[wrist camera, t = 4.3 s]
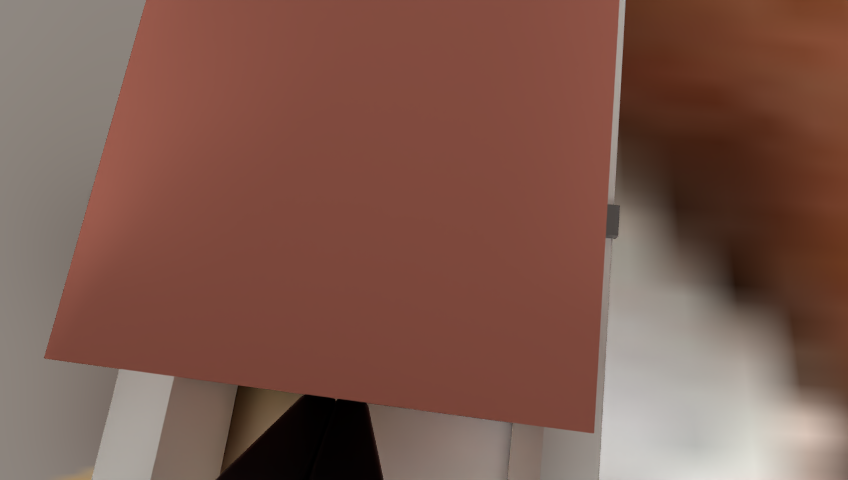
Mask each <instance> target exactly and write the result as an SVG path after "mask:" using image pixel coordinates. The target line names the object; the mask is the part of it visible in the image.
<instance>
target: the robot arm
mask: <svg viewBox="0 0 848 480" xmlns="http://www.w3.org/2000/svg"><path fill="white" fill-rule="evenodd" d="M216 480H383V475H382V470H381V465H380V460H379V456H378V451H377V446H376V441H375V437H374V432H373V427H372V422H371V417H370V413H369V408H368V405H367V403H366V402H359V401H351V400H344V399H337V401H335V399H334V398H329V397H322V396H315V395H307V394H305V395H303V396H302V397H301V398H300V399H299V400H298V401H296V402H295V403H294V404H293V405H292V406H291V407H290V408H289V409H288V410H287V411H286V412H285V413H284V414H283V415H282V416H281V417H280V418H279V419H278V420H277V421H276V422H275V423H274V424H273V425H272V426H271V427H270V428H268V429H267V430H266V431H265V432H264V433H263V434H262V435H261V436H260V437H259V438H258V439H257V440H256V441H255V442H254V443H253V444H252V445H251V446H250V447H249V448H248V449H247V450H246V451H245V452H244V453H243V454H241V455H240V456H239V457H238V458H237V459H236V460H235V461H234V462H233V463H232V464H231V465H230V466H229V467H228V468H227V469H226V470H225V471H224V472H223V473H222V474H221V475H220V476H219V477H218V478H217V479H216Z"/></svg>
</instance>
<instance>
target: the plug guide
mask: <svg viewBox="0 0 848 480" xmlns="http://www.w3.org/2000/svg"><path fill="white" fill-rule="evenodd" d="M625 1H626V0H620V1H619V18H618V35H617V52H616V69H615V86H614V103H613V120H612V137H611V154H610V171H609V188H608V205H607V222H606V239H605V256H604V273H603V290H602V307H601V324H600V341H599V358H598V376H597V393H596V410H595V427H594V433H586V432H578V431H571V430H563V429H556V428H548V427H541V426H533V425H525V424H518V423H513V425H512V436H511V447H510V458H509V469H508V480H599V467H600V449H601V431H602V413H603V395H604V377H605V359H606V341H607V323H608V305H609V288H610V270H611V252H612V239H615V238H616V237H618V227H619V209H620V206H619V205H614V198H615V180H616V162H617V144H618V126H619V108H620V90H621V72H622V55H623V37H624V19H625ZM237 388H238V385H232V384H225V383H218V382H211V381H203V380H196V379H189V378H182V377H175V376H167V375H160V374H153V373H146V372H138V371H131V370H124V369H119V373H118V377H117V381H116V385H115V389H114V393H113V397H112V401H111V405H110V409H109V413H108V416H107V421H106V424H105V428H104V432H103V436H102V440H101V444H100V448H99V452H98V456H97V460H96V464H95V468H94V472H93V476H92V480H216V479H217V478H218V477H219V476H220V471H221V466H222V461H223V456H224V451H225V447H226V442H227V437H228V432H229V427H230V422H231V417H232V412H233V407H234V402H235V398H236V393H237Z"/></svg>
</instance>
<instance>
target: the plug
mask: <svg viewBox="0 0 848 480" xmlns="http://www.w3.org/2000/svg"><path fill="white" fill-rule="evenodd" d="M619 1H620V0H146V4H145V6H144V10H143V14H142V17H141V20H140V24H139V28H138V31H137V34H136V38H135V41H134V45H133V49H132V52H131V56H130V59H129V63H128V66H127V70H126V73H125V77H124V80H123V84H122V87H121V91H120V94H119V98H118V101H117V105H116V108H115V112H114V115H113V119H112V122H111V126H110V129H109V133H108V136H107V140H106V143H105V147H104V150H103V154H102V157H101V161H100V164H99V168H98V171H97V175H96V178H95V182H94V185H93V189H92V192H91V196H90V199H89V203H88V206H87V210H86V213H85V217H84V220H83V224H82V227H81V231H80V234H79V238H78V241H77V245H76V249H75V252H74V255H73V259H72V262H71V266H70V269H69V273H68V276H67V280H66V283H65V287H64V290H63V294H62V297H61V301H60V304H59V308H58V311H57V315H56V318H55V322H54V325H53V329H52V332H51V336H50V339H49V343H48V346H47V350H46V353H45V357H44V358H45V359H52V360H59V361H67V362H74V363H81V364H88V365H95V366H103V367H110V368H117V369H124V370H131V371H138V372H146V373H153V374H160V375H167V376H175V377H182V378H189V379H196V380H203V381H211V382H218V383H225V384H232V385H239V386H247V387H254V388H261V389H269V390H276V391H283V392H290V393H298V394H307V395H315V396H322V397H329V398H334V399H344V400H351V401H359V402H366V403H371V404H378V405H386V406H393V407H400V408H408V409H415V410H422V411H429V412H437V413H444V414H451V415H459V416H466V417H473V418H481V419H488V420H495V421H503V422H510V423H518V424H525V425H533V426H541V427H548V428H556V429H563V430H571V431H578V432H586V433H594V427H595V410H596V393H597V376H598V358H599V341H600V324H601V307H602V290H603V273H604V256H605V239H606V222H607V205H608V188H609V171H610V154H611V137H612V120H613V103H614V86H615V69H616V52H617V35H618V18H619Z"/></svg>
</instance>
